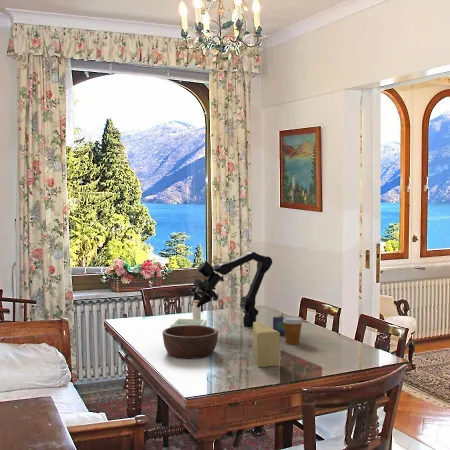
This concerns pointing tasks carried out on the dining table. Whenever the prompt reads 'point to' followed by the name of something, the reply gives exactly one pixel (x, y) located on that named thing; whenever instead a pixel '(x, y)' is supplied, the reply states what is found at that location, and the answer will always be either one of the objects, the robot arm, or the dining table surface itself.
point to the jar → (196, 310)
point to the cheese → (266, 345)
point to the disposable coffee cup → (292, 329)
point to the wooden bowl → (190, 341)
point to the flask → (279, 324)
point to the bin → (189, 322)
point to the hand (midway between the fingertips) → (194, 306)
